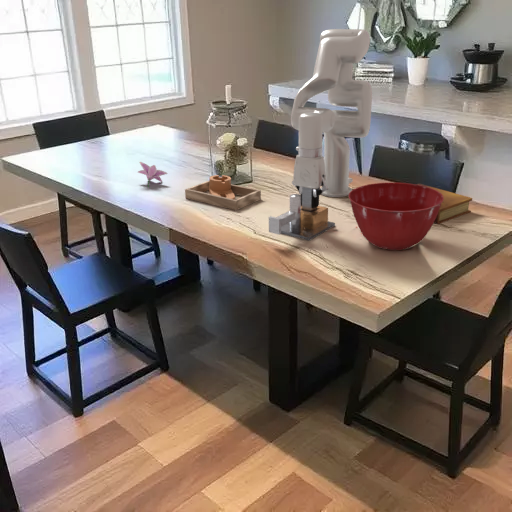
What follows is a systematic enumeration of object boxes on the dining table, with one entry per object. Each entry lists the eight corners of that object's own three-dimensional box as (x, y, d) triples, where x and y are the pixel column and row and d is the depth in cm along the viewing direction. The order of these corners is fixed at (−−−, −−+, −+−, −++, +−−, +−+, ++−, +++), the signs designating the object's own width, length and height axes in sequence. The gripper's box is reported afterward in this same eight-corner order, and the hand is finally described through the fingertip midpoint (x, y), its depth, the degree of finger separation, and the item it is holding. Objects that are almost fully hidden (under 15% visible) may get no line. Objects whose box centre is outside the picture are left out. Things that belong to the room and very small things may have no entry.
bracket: (208, 192, 247) (208, 175, 245) (228, 191, 249) (229, 174, 246) (214, 207, 231) (214, 188, 228) (236, 206, 233) (236, 188, 230)
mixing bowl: (328, 242, 197) (329, 196, 191) (381, 219, 216) (384, 176, 209) (405, 268, 179) (409, 217, 173) (456, 240, 197) (461, 193, 191)
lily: (170, 188, 257) (171, 165, 258) (147, 183, 249) (148, 159, 250) (153, 191, 265) (154, 169, 266) (129, 186, 257) (131, 163, 258)
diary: (384, 209, 227) (385, 193, 225) (418, 198, 237) (419, 183, 235) (437, 225, 210) (438, 209, 208) (470, 213, 221) (472, 197, 218)
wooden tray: (211, 188, 252) (210, 179, 251) (260, 199, 238) (260, 190, 237) (185, 198, 241) (184, 189, 240) (236, 210, 227) (235, 201, 226)
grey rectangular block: (302, 212, 209) (302, 180, 205) (307, 209, 212) (308, 178, 207) (311, 214, 207) (311, 182, 203) (317, 211, 210) (317, 179, 205)
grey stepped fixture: (300, 217, 219) (300, 181, 214) (334, 225, 211) (336, 188, 206) (256, 240, 201) (255, 201, 195) (292, 250, 193) (292, 210, 187)
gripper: (282, 151, 203) (282, 204, 210) (326, 158, 194) (325, 214, 201) (295, 146, 208) (295, 198, 216) (338, 153, 199) (337, 207, 207)
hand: (309, 205), depth 208 cm, fingers closed on grey rectangular block, 3 cm apart
